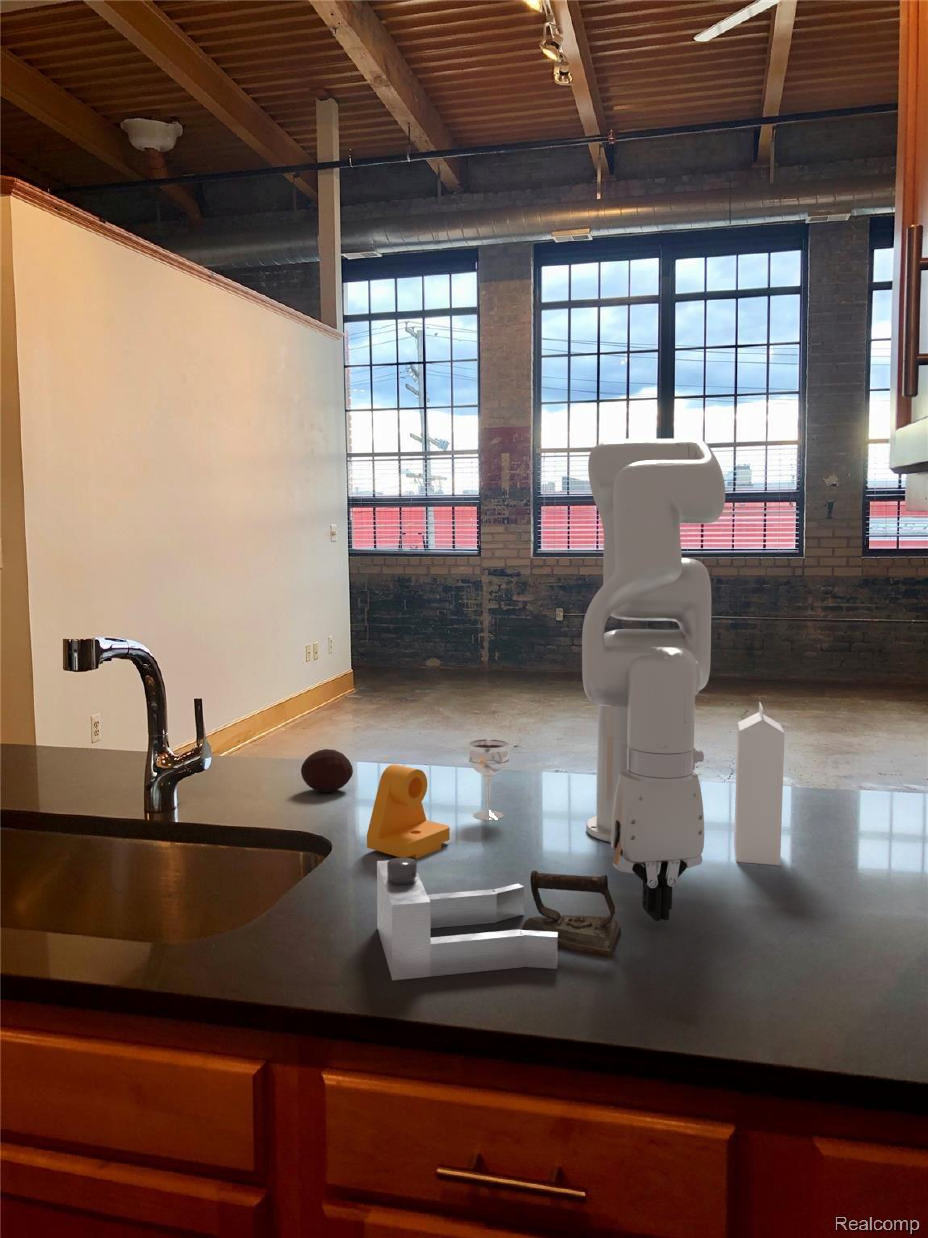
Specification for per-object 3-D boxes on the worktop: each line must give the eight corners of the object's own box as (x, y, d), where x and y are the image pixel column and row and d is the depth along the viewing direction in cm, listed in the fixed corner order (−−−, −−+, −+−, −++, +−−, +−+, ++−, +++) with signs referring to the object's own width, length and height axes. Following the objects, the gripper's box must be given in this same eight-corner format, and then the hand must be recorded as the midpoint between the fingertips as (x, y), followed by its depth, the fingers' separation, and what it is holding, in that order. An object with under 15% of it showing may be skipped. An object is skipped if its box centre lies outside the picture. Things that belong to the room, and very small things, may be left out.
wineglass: (465, 821, 146) (465, 747, 145) (469, 808, 153) (470, 738, 152) (507, 822, 146) (508, 749, 144) (510, 810, 152) (510, 739, 151)
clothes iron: (618, 963, 98) (596, 878, 97) (521, 971, 102) (498, 889, 101) (627, 931, 105) (606, 850, 104) (535, 939, 109) (514, 862, 108)
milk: (735, 862, 128) (739, 708, 126) (733, 848, 134) (736, 700, 132) (781, 866, 126) (785, 710, 124) (777, 851, 132) (781, 702, 130)
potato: (301, 786, 167) (300, 745, 166) (352, 784, 168) (351, 743, 168) (301, 799, 159) (300, 755, 158) (354, 796, 160) (354, 753, 160)
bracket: (404, 864, 127) (403, 780, 126) (366, 853, 131) (366, 772, 130) (452, 844, 135) (452, 765, 134) (415, 834, 140) (415, 758, 139)
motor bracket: (521, 911, 111) (521, 831, 110) (560, 968, 96) (561, 877, 95) (376, 923, 107) (375, 841, 106) (393, 986, 92) (393, 890, 91)
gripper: (704, 752, 110) (700, 898, 111) (587, 758, 107) (585, 909, 108) (735, 767, 103) (731, 923, 104) (611, 774, 99) (608, 935, 101)
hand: (656, 915), depth 106 cm, fingers closed
